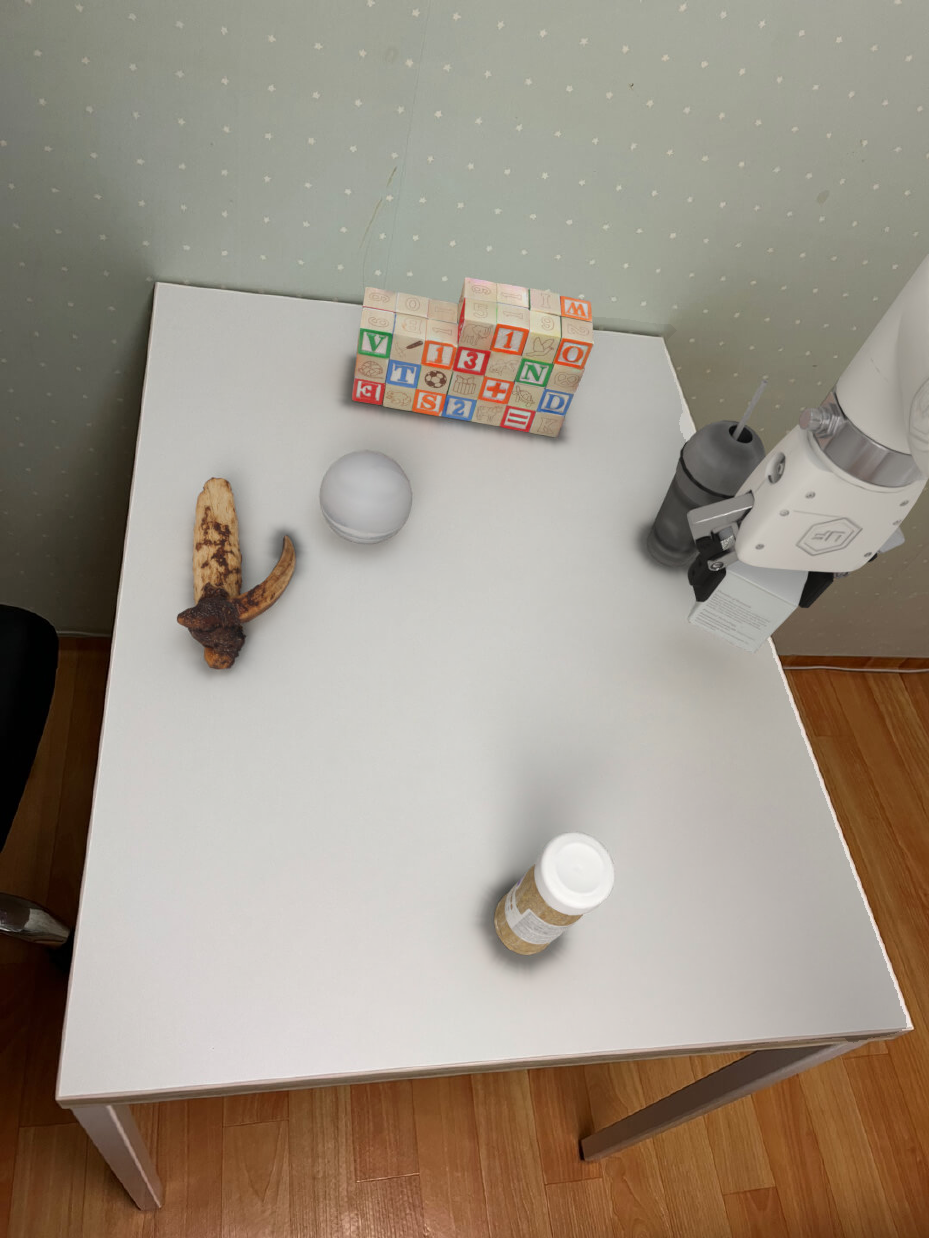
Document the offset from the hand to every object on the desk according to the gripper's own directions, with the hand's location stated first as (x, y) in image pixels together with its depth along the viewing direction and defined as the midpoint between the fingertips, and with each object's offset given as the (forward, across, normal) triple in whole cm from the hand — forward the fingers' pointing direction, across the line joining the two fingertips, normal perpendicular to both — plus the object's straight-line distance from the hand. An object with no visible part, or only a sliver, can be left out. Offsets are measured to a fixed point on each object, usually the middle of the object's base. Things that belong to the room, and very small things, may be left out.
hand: (748, 589), depth 68 cm
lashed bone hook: (+11, -40, +5) cm, 41 cm away
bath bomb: (+11, -29, +12) cm, 34 cm away
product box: (+4, 0, 0) cm, 4 cm away
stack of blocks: (+11, -20, +30) cm, 37 cm away
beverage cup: (+11, 0, +12) cm, 16 cm away
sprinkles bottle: (+11, -18, -23) cm, 31 cm away
